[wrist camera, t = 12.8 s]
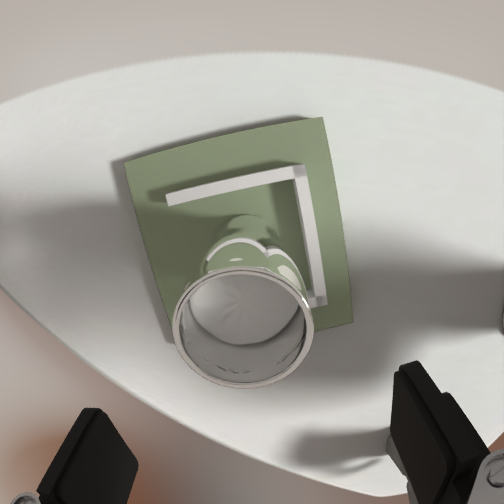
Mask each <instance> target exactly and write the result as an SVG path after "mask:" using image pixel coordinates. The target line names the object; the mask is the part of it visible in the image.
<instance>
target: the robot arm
mask: <svg viewBox="0 0 504 504" xmlns="http://www.w3.org/2000/svg"><path fill="white" fill-rule="evenodd" d="M503 327H504V313H503ZM390 432H391V436H392V439H393V441H394V444H395V446H396V449H397V451H398V453H399V456H400V458H401V461H402V463H403V466H404V468H405V471H406V473H407V475H408V478H409V481H410V483H411V486H412V488H413V491H414V493H415V496H416V498H417V501H418V504H504V449H500V450H497V451H494V452H492V453H490V451H489V450H488V448H487V447H486V445H485V443H484V442H483V440H482V439H481V437H480V436H479V434H478V433H477V431H476V430H475V428H474V427H473V425H472V424H471V422H470V421H469V419H468V418H467V416H466V415H465V414H464V412H463V411H462V409H461V408H460V406H459V405H458V403H457V402H456V401H455V399H454V398H453V396H452V395H451V394H450V393H448V392H444V393H441V392H440V390H439V389H438V387H437V386H436V385H435V383H434V382H433V380H432V379H431V377H430V376H429V375H428V373H427V372H426V370H425V369H424V368H423V366H422V365H421V363H420V362H419V361H417V360H416V361H413V362H410V363H407V364H404V365H401V366H400V367H399V371H397V372H395V373H394V385H393V400H392V413H391V424H390ZM137 470H138V461H137V459H136V458H135V456H134V455H133V454H132V452H131V450H130V449H129V448H128V446H127V445H126V443H125V442H124V440H123V439H122V437H121V436H120V434H119V433H118V431H117V430H116V428H115V427H114V425H113V423H112V422H111V420H110V419H109V417H108V415H107V414H106V413H105V412H103V411H102V410H101V409H100V408H84V409H83V410H82V411H81V413H80V415H79V417H78V418H77V420H76V421H75V423H74V425H73V426H72V428H71V430H70V432H69V433H68V435H67V437H66V438H65V440H64V442H63V444H62V445H61V447H60V449H59V451H58V452H57V454H56V456H55V457H54V459H53V461H52V463H51V465H50V466H49V468H48V470H47V472H46V474H45V475H44V477H43V479H42V481H41V483H40V485H39V486H38V488H37V492H38V493H39V494H40V496H39V498H38V497H37V496H36V495H35V494H33V493H28V492H25V493H21V494H19V495H18V496H16V497H15V498H14V499H13V501H12V502H11V504H127V501H128V498H129V494H130V492H131V488H132V486H133V482H134V479H135V476H136V473H137Z"/></svg>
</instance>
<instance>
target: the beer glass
mask: <svg viewBox="0 0 504 504" xmlns="http://www.w3.org/2000/svg"><path fill="white" fill-rule="evenodd" d="M172 332H173V338H174V342H175V345H176V347H177V350H178V352H179V353H180V355H181V357H182V358H183V360H184V361H185V362H186V363H187V364H188V366H189V367H190V368H191V369H193V370H194V371H195V372H196V373H197V374H199V375H200V376H202V377H203V378H205V379H207V380H209V381H211V382H213V383H216V384H219V385H222V386H226V387H231V388H241V389H247V388H257V387H262V386H266V385H269V384H272V383H275V382H277V381H279V380H281V379H283V378H284V377H286V376H287V375H289V374H290V373H291V372H293V371H294V370H295V369H296V368H297V367H298V366H299V365H300V364H301V362H302V361H303V360H304V358H305V357H306V355H307V353H308V351H309V349H310V346H311V343H312V339H313V333H314V324H313V317H312V313H311V310H310V306H309V301H308V296H307V291H306V288H305V285H304V282H303V279H302V276H301V274H300V271H299V270H298V268H297V266H296V264H295V262H294V260H293V259H292V257H291V256H290V255H289V254H288V253H287V252H286V251H285V249H284V248H283V247H282V246H281V241H280V238H279V235H278V233H277V231H276V230H275V228H274V227H273V226H272V225H271V224H270V223H269V222H268V221H266V220H264V219H263V218H260V217H258V216H254V215H240V216H236V217H233V218H231V219H229V220H228V221H226V222H225V223H224V224H223V225H222V226H221V227H220V228H219V229H218V231H217V232H216V234H215V237H214V240H213V243H212V244H211V245H209V246H208V247H207V248H206V249H205V250H204V251H203V252H202V253H201V254H200V255H199V257H198V258H197V259H196V261H195V262H194V264H193V266H192V267H191V269H190V271H189V273H188V275H187V277H186V280H185V282H184V285H183V287H182V291H181V294H180V297H179V301H178V303H177V305H176V308H175V311H174V315H173V321H172Z"/></svg>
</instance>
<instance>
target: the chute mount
mask: <svg viewBox="0 0 504 504" xmlns="http://www.w3.org/2000/svg"><path fill="white" fill-rule="evenodd" d="M124 167H125V171H126V176H127V180H128V184H129V188H130V192H131V196H132V200H133V204H134V208H135V212H136V215H137V219H138V223H139V226H140V230H141V234H142V237H143V241H144V244H145V248H146V251H147V254H148V258H149V261H150V264H151V267H152V271H153V274H154V277H155V280H156V283H157V286H158V289H159V292H160V296H161V299H162V301H163V304H164V307H165V310H166V313H167V316H168V319H169V322H170V325H171V327H172V321H173V315H174V311H175V308H176V305H177V303H178V301H179V297H180V294H181V291H182V287H183V285H184V282H185V280H186V277H187V275H188V273H189V271H190V269H191V267H192V266H193V264H194V262H195V261H196V259H197V258H198V257H199V255H200V254H201V253H202V252H203V251H204V250H205V249H206V248H207V247H208V246H209V245H211V244H212V243H213V240H214V237H215V234H216V232H217V231H218V229H219V228H220V227H221V226H222V225H223V224H224V223H225V222H226V221H228V220H229V219H231V218H233V217H236V216H240V215H254V216H258V217H260V218H263V219H264V220H266V221H268V222H269V223H270V224H271V225H272V226H273V227H274V228H275V230H276V231H277V233H278V235H279V238H280V241H281V246H282V247H283V248H284V249H285V251H286V252H287V253H288V254H289V255H290V256H291V257H292V259H293V260H294V262H295V264H296V266H297V268H298V270H299V271H300V274H301V276H302V279H303V282H304V285H305V288H306V291H307V296H308V301H309V306H310V310H311V313H312V317H313V324H314V331H319V330H323V329H327V328H332V327H336V326H340V325H344V324H348V323H352V322H353V313H352V302H351V292H350V282H349V273H348V264H347V256H346V248H345V241H344V233H343V226H342V219H341V213H340V206H339V200H338V194H337V188H336V182H335V177H334V171H333V166H332V160H331V155H330V150H329V145H328V140H327V135H326V130H325V126H324V121H323V117H318V118H311V119H304V120H298V121H292V122H286V123H281V124H275V125H270V126H265V127H259V128H254V129H250V130H245V131H240V132H235V133H231V134H227V135H222V136H218V137H214V138H210V139H205V140H201V141H197V142H194V143H190V144H186V145H182V146H178V147H175V148H171V149H168V150H164V151H161V152H157V153H154V154H150V155H147V156H144V157H141V158H137V159H134V160H131V161H128V162H125V163H124Z"/></svg>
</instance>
